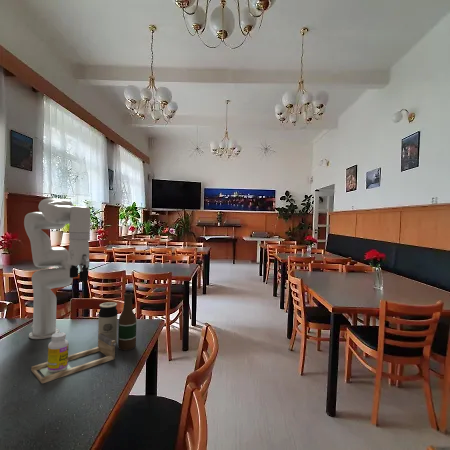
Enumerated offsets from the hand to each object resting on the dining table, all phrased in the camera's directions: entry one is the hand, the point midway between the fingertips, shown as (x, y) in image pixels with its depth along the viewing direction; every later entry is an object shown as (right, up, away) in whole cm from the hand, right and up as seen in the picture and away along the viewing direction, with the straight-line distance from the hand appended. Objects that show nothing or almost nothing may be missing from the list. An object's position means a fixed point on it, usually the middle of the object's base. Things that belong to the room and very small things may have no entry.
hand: (78, 279), depth 120 cm
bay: (+1, -32, -5) cm, 33 cm away
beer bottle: (+15, -33, +12) cm, 38 cm away
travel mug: (+6, -32, +15) cm, 36 cm away
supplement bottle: (-3, -32, -9) cm, 33 cm away
